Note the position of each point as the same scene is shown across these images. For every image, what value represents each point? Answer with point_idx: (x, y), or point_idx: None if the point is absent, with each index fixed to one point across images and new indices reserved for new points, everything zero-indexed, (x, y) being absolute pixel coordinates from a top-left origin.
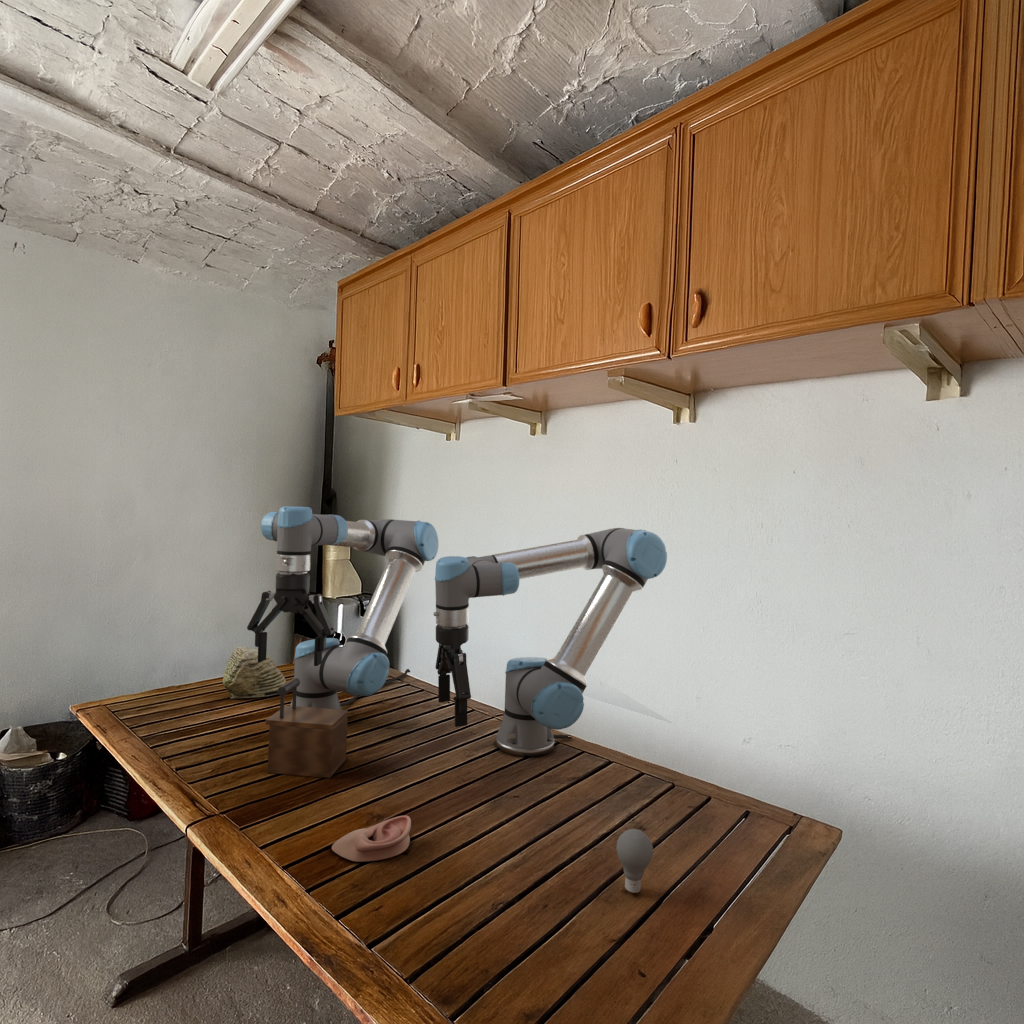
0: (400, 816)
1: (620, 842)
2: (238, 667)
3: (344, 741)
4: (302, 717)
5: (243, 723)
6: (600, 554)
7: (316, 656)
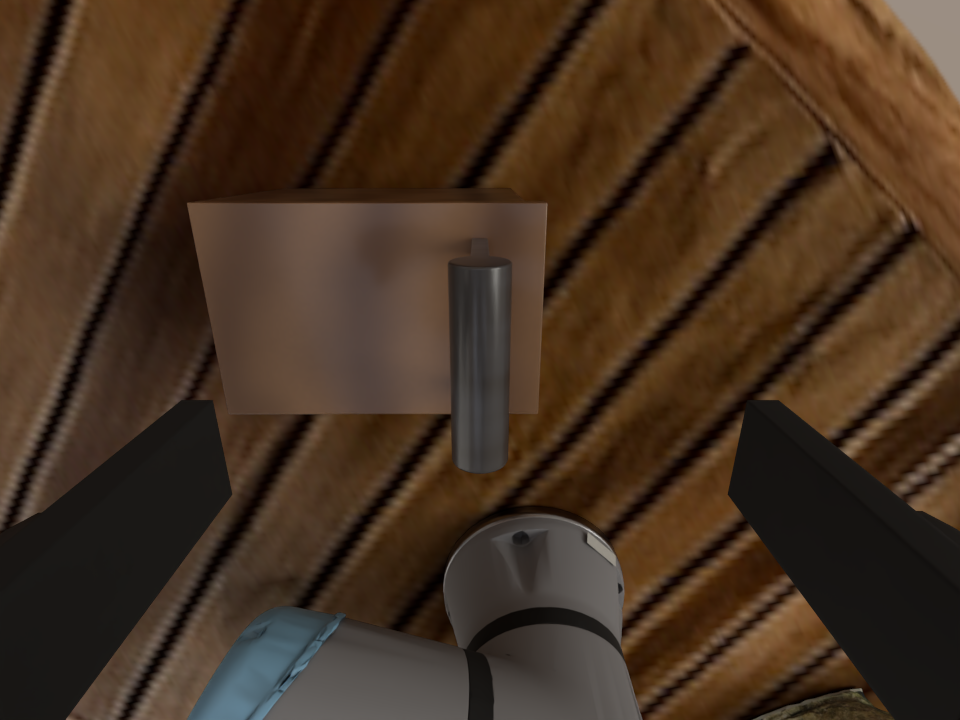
0: None
1: None
2: None
3: None
4: (382, 274)
5: (749, 534)
6: None
7: (129, 447)
